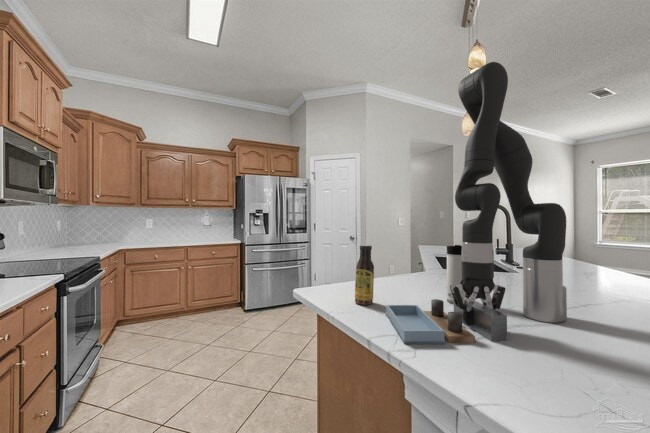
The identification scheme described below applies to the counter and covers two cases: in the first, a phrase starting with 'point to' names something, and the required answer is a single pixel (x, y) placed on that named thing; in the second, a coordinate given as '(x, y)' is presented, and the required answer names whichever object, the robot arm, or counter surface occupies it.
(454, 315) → the peg rack
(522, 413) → the counter surface
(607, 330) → the counter surface
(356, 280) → the sauce bottle
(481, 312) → the steel bar
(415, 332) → the slot tray
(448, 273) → the travel mug
